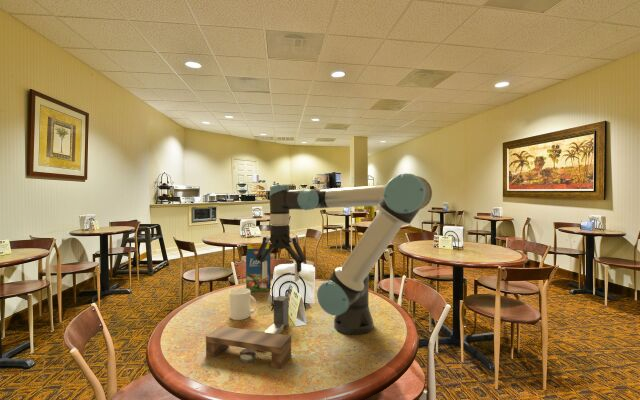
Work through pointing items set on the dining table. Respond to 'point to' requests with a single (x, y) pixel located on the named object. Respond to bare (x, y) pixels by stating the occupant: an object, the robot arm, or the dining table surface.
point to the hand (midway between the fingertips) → (280, 279)
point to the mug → (241, 303)
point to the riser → (250, 343)
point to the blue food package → (256, 269)
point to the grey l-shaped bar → (280, 315)
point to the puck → (247, 356)
